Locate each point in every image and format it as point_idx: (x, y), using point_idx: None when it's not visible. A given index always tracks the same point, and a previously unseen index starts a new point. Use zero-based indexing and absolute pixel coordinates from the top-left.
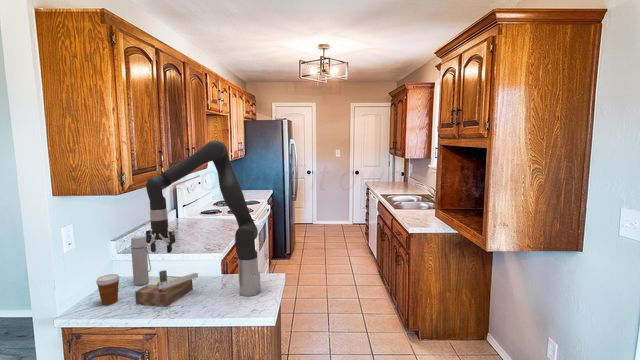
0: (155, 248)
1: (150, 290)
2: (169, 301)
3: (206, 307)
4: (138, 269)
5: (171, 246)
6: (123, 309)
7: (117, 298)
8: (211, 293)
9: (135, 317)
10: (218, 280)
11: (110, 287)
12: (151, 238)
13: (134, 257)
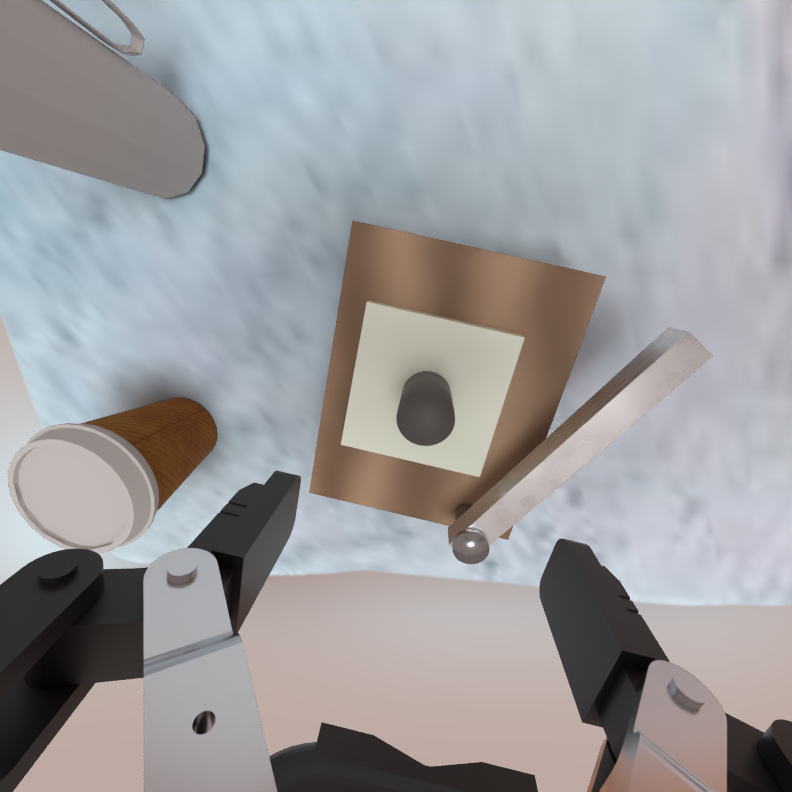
0: (283, 503)
1: (392, 486)
2: None
3: (702, 515)
4: (87, 167)
5: (653, 651)
6: (303, 503)
7: (207, 426)
8: (710, 346)
9: (400, 572)
10: (743, 86)
11: (159, 508)
12: (27, 653)
13: None
